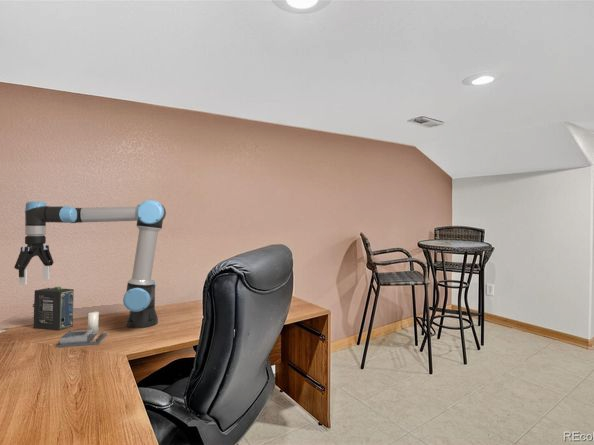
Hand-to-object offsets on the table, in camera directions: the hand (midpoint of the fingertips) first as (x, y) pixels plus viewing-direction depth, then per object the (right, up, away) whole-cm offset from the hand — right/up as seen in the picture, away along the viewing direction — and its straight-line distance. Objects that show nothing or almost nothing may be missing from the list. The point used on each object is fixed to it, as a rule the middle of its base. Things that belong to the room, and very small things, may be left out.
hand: (35, 282), depth 154 cm
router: (-4, -26, +16) cm, 31 cm away
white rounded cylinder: (+22, -26, +7) cm, 35 cm away
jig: (+24, -26, -4) cm, 35 cm away
